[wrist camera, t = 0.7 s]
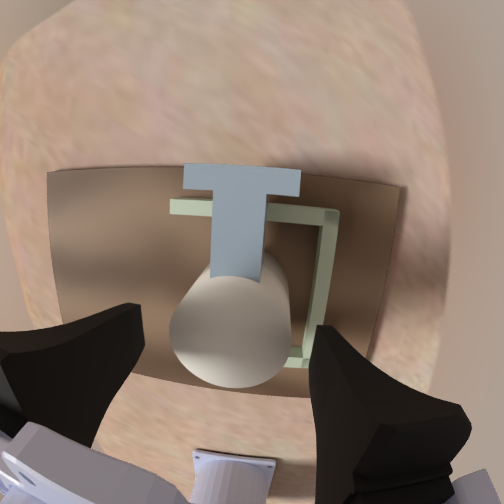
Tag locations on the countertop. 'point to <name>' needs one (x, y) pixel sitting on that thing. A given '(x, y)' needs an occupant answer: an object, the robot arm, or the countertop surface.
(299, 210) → the cradle
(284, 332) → the white blue t-bar grip
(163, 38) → the countertop surface
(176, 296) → the board
